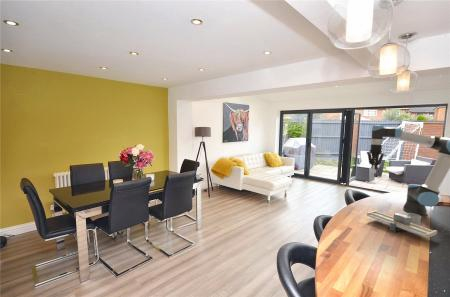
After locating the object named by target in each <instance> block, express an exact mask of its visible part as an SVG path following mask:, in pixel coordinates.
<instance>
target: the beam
mask: <svg viewBox="0 0 450 297" xmlns="http://www.w3.org/2000/svg"><path fill="white" fill-rule="evenodd" d="M366 216H367V217H369V218H372V219H376V220H378V221H381V222H382V223H386V224H389V225H390V222H393V223H395V224H396V227H399V228H402V230H405V231H407V232H409V233H412V234H415V235H418V236H421V237H423V238H427V239H428V238H431V237H433V236H436V235H437V233H438V230H436V229H434V230H432V229H430V228H426V227H425V226H421V225H420V226H418V225H415V224H412V223H410V225H409V226H408V225H405V224H402V223H399V222H397V221H394V220H393V219H394V216H392V215H388V214H386V213H384V212H380V211H379V210H377V209H376V210H372V211H369V212H366Z"/></svg>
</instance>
